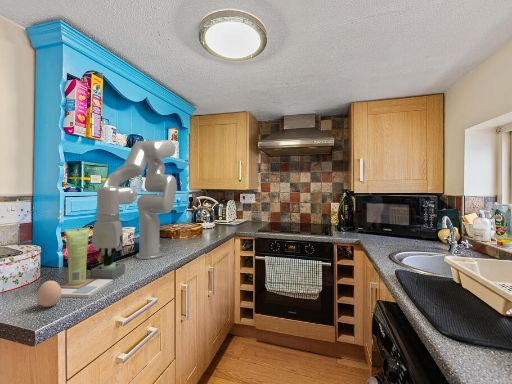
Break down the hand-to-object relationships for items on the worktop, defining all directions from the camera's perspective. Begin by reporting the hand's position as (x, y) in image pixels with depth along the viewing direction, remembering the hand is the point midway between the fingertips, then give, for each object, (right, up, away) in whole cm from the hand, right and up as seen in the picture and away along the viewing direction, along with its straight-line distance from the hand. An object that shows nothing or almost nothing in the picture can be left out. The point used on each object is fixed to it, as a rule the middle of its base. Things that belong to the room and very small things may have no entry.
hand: (108, 264), depth 99 cm
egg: (-3, -6, -24) cm, 25 cm away
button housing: (0, -5, 0) cm, 5 cm away
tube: (-5, -4, -9) cm, 11 cm away
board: (-2, -5, -12) cm, 13 cm away
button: (0, -4, 0) cm, 4 cm away
